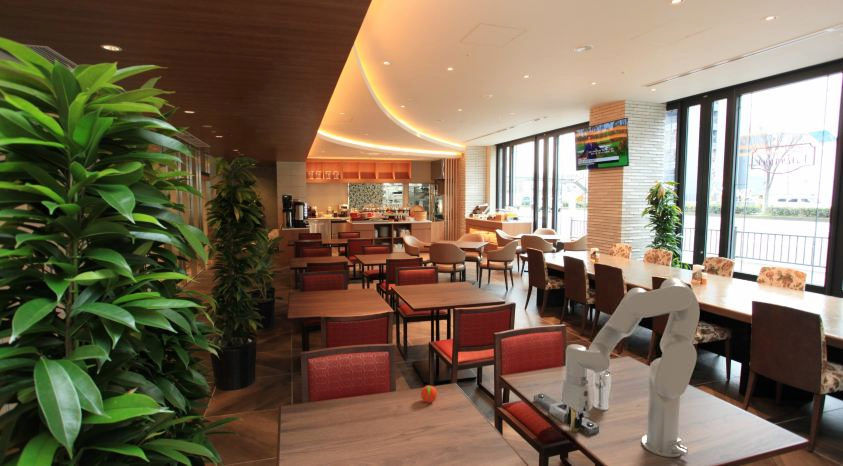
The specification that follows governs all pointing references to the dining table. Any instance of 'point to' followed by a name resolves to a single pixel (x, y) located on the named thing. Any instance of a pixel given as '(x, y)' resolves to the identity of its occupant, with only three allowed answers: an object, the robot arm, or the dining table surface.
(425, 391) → the red tomato
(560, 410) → the studded connector plate
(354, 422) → the dining table surface
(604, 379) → the metal tumbler
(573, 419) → the link pin
